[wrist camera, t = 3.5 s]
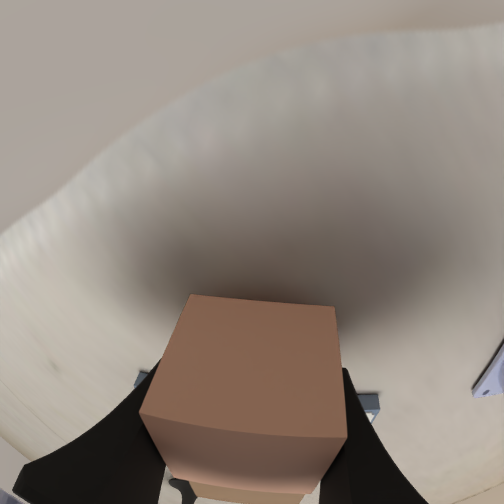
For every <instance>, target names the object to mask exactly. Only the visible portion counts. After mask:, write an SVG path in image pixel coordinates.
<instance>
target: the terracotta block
mask: <svg viewBox="0 0 504 504" xmlns="http://www.w3.org/2000/svg"><path fill="white" fill-rule="evenodd" d="M139 414H140V416H141V418H142V420H143V422H144V424H145V426H146V428H147V430H148V432H149V434H150V436H151V438H152V440H153V442H154V443H155V445H156V447H157V449H158V451H159V453H160V454H161V456H162V458H163V460H164V461H165V463H166V465H167V467H168V468H169V470H170V472H171V473H172V475H173V477H174V478H178V479H183V480H187V481H192V482H197V483H203V484H208V485H214V486H220V487H227V488H234V489H242V490H251V491H261V492H274V493H292V494H311V493H312V492H313V490H314V489H315V488H316V486H317V485H318V483H319V482H320V480H321V479H322V477H323V476H324V474H325V473H326V471H327V470H328V468H329V467H330V465H331V464H332V462H333V460H334V459H335V457H336V456H337V454H338V452H339V451H340V449H341V447H342V446H343V444H344V442H345V441H346V439H347V423H346V409H345V397H344V385H343V375H342V365H341V356H340V347H339V338H338V330H337V322H336V315H335V307H334V306H320V305H305V304H291V303H278V302H266V301H255V300H244V299H233V298H223V297H213V296H204V295H195V294H190V296H189V298H188V300H187V302H186V305H185V307H184V309H183V311H182V313H181V316H180V318H179V320H178V322H177V325H176V327H175V329H174V331H173V334H172V336H171V338H170V340H169V343H168V345H167V347H166V350H165V352H164V354H163V356H162V359H161V361H160V363H159V366H158V368H157V370H156V373H155V375H154V377H153V380H152V382H151V384H150V387H149V389H148V392H147V394H146V396H145V399H144V401H143V404H142V406H141V408H140V411H139Z"/></svg>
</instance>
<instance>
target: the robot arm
mask: <svg viewBox="0 0 504 504" xmlns="http://www.w3.org/2000/svg"><path fill="white" fill-rule="evenodd" d="M161 359H162V358H161ZM161 359H160V360H159V362H158V363H157V364H156V365H155V366H154V368H153V369H152V370H151V371H150V372H149V373H148V375H147V376H146V377H145V378H144V379H143V380H142V381H141V382H140V383H139V385H138V386H137V387H136V388H135V389H134V390H133V391H132V392H131V393H130V394H129V395H128V396H127V397H126V398H125V399H124V400H123V401H122V402H121V403H120V404H119V405H118V406H117V407H116V408H115V409H114V410H113V411H111V412H110V413H109V414H108V415H107V416H106V417H105V418H103V419H102V420H101V421H100V422H98V423H97V424H96V425H95V426H93V427H92V428H91V429H89V430H88V431H86V432H85V433H84V434H82V435H81V436H79V437H78V438H76V439H75V440H73V441H72V442H70V443H68V444H67V445H65V446H63V447H61V448H59V449H58V450H56V451H54V452H52V453H50V454H48V455H46V456H44V457H42V458H39V459H37V460H35V461H33V462H30V463H28V464H25V465H24V467H23V468H22V470H21V472H20V474H19V476H18V478H17V480H16V482H15V485H14V487H13V489H12V491H13V493H15V494H16V495H18V496H19V497H21V498H22V499H24V500H25V501H27V502H28V503H30V504H158V500H159V495H160V490H161V485H162V480H163V476H164V472H165V467H166V463H165V461H164V460H163V458H162V456H161V454H160V453H159V451H158V449H157V447H156V445H155V443H154V442H153V440H152V438H151V436H150V434H149V432H148V430H147V428H146V426H145V424H144V422H143V420H142V418H141V416H140V414H139V411H140V408H141V406H142V404H143V401H144V399H145V396H146V394H147V392H148V389H149V387H150V384H151V382H152V380H153V377H154V375H155V373H156V370H157V368H158V366H159V363H160V361H161ZM342 375H343V385H344V397H345V409H346V423H347V439H346V441H345V442H344V444H343V446H342V447H341V449H340V451H339V452H338V454H337V456H336V457H335V459H334V460H333V462H332V464H331V465H330V467H329V468H328V470H327V471H326V473H325V474H324V476H323V477H322V479H321V480H320V496H319V504H428V502H427V501H426V500H425V499H424V498H423V497H422V496H421V495H420V494H419V493H418V492H417V491H416V489H415V488H414V487H413V486H412V485H411V483H410V482H409V481H408V480H407V479H406V478H405V476H404V475H403V474H402V472H401V471H400V470H399V468H398V467H397V466H396V464H395V463H394V461H393V460H392V458H391V457H390V455H389V454H388V452H387V451H386V449H385V447H384V446H383V444H382V443H381V441H380V439H379V437H378V436H377V434H376V432H375V430H374V428H373V426H372V425H371V423H370V421H369V419H368V417H367V415H366V413H365V411H364V409H363V406H362V404H361V402H360V400H359V398H358V395H357V393H356V391H355V388H354V386H353V383H352V381H351V378H350V375H349V373H348V370H347V369H346V368H342ZM501 393H504V344H503V346H502V347H501V349H500V351H499V352H498V354H497V355H496V357H495V359H494V360H493V362H492V363H491V365H490V366H489V368H488V369H487V371H486V372H485V374H484V375H483V376H482V378H481V379H480V381H479V382H478V383H477V385H476V386H475V388H474V389H473V391H472V395H473V397H474V398H479V397H485V396H490V395H496V394H501ZM0 504H24V503H23V502H21V501H20V500H18V499H17V498H15V497H14V496H12V495H10V494H8V493H7V492H5V491H4V490H2V489H1V488H0Z"/></svg>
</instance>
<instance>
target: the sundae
mask: <svg viewBox="0 0 504 504" xmlns="http://www.w3.org/2000/svg"><path fill="white" fill-rule="evenodd" d="M169 484H170V485H171V486H172V487H174V488H176V489H178V490H179V491H180V492H181V494H182V504H194V502H195V500H196V498H198V497H197V496H196V494H195V493H194V491H193V489H192V487H191V485H190V483H189V481H187V480H182V479H172V480H170V481H169Z"/></svg>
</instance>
